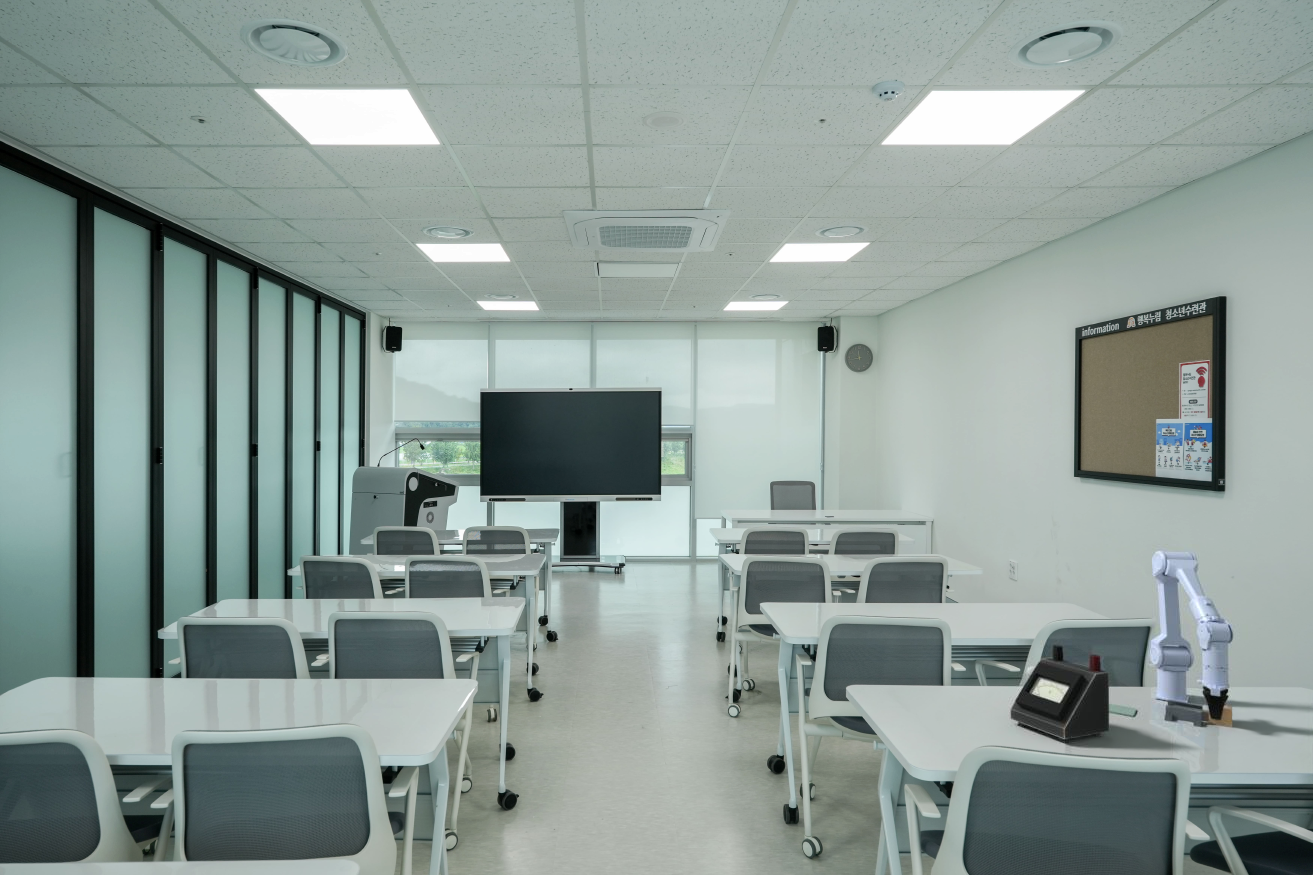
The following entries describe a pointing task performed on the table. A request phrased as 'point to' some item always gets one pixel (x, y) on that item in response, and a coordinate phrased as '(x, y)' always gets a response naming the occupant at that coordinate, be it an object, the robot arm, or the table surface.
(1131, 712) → the mat
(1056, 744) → the table surface
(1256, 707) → the table surface
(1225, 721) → the plug
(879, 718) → the table surface
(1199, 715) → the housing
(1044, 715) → the voltmeter
